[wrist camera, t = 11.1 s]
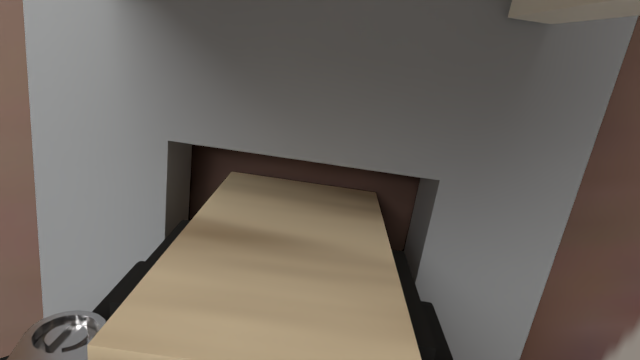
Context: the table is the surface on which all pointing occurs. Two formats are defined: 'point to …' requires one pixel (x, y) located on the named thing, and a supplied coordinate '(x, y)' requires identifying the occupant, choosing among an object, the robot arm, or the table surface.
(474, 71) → the puzzle board
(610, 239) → the table surface
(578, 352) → the table surface
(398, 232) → the table surface
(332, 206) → the maple block
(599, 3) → the sliding cover
